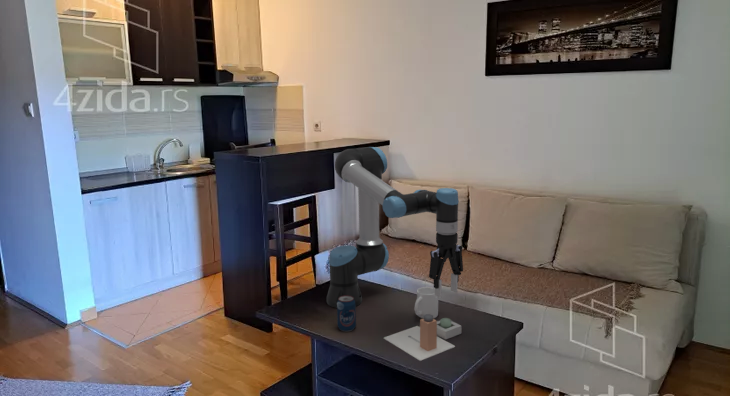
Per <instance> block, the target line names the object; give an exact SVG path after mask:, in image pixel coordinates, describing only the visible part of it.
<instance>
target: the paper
mask: <svg viewBox="0 0 730 396" xmlns="http://www.w3.org/2000/svg"><path fill="white" fill-rule="evenodd" d="M383 339H384V340H385V341H387V342H389V343H390V344H391V345H393V346H395V347H397V348H398V349H400V350H402V352H405V353H406V354H407V355H409V356H411V357H413V358H414V359H416V360H418V361H419V362H421V361H424V360H427V359H429V358H432V357H434V356H437V355H438V354H441V353H444V352H446V351H449V350H451V349H454V348H455V347H456V346H455V345H454V344H452V343H450V342H448V341H446V340H445V339H443V338H441V337H439V336H437V348H435V349H432V350H430V351H426V350H425V349H423V348H421V347H420V325H419V326H418V325H416V326H413V327H410V328H407V329H404V330H401V331H399V332H396V333H393V334H390V335H388V336H384V337H383Z"/></svg>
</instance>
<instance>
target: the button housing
mask: <svg viewBox="0 0 730 396" xmlns="http://www.w3.org/2000/svg"><path fill="white" fill-rule="evenodd" d="M436 321H437V337H439V338H441V339H443V340H445V341H446V340H448V339H451V338H453V337H457V336H458V335H461V334H462V325H460V324H459V323H457V322H455V321H453V320H451V327H450V328H447V329H445V328H443V327H441V326H440V320H436Z"/></svg>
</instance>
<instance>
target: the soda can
mask: <svg viewBox="0 0 730 396" xmlns="http://www.w3.org/2000/svg"><path fill="white" fill-rule="evenodd" d="M356 307H357V306H355V300H354V297H352V296H349V295H344V296H340V297H339V298H338V301H337V308H336V316H337V327H338V329H339V330H340V331H342V332H351V331H353V330H354V329H355V327H356V326H357V319H356V318H357V315H356V314H357V313H356Z"/></svg>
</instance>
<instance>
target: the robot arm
mask: <svg viewBox="0 0 730 396" xmlns="http://www.w3.org/2000/svg"><path fill="white" fill-rule="evenodd" d="M387 169H388V158H387V157H386V154H385V153H384V152H383V150H382V149H381V148H379V147H377V146H375V147H374V146H367V147H358V148H347V149H345V150H343V151H340V153H338V154H337V156H336V158H335V161H334V170H335V173H336V174H337V176H338V177H339V178H340V179H341V180H343V181H344V182H346V183H348V184H349V183H351V184H352V185H354V186H355V187H356V188H357V190H358V191H357V193H358V195H357V196H358V220H359V221H358V222H359V223H358V229H359V230H358V231H359V235H358V236H359V238H358V239H357V240H356V241H355V246H354V245H350V244H347V245H341V246H337V247H335V248H333V249H331V251H330V252H329V260H328V264H329V288H328V291H327V295H326V303H327V305H328V306H330V307H332V308H336V309H337V301H338V298H339V297H340V296H344V295H349V296H352V297H354V300H355V306H356V307H358V306H360V305H361V304H362V303H363V294H362V292H361V289H360V286H359V283H358V282H359V280H358V277H359V276H362V275H365V274H368V273H369V274H370V273H373V272H378V271H380V270H382V269H384V268H385V267H386V266H387V265H388V262H389V259H390V257H389V256H390V253H389V250H388V246H387V245H386V244H385V243H384V240H383V239H382V238H381V237H380V210H379V209H380V206H379V204H380V205H381V206H382V210H383V211H382V212H384V214H385V216H386V217H387V218H389V219H395V218H396V219H398V218H399V219H400V218H402V217H407V216H411V215H417V214H422V213H423V214H424V213H431V214H435V215H436V217H435V218H436V223H435V224H436V225H435V231H436V234H435V242H436V245H437V246H436V250H431V251H430V252H429V254H430V262H429V263H430V264H429V272H428V278H429V279H432V280H433V288H435V296H437V297H438V299H439V298H440V299H441V298H442V290H443V289H442V281H443V280H442V279H441V276H442V273H443V270H444V266H445V263H446V261H447V259H448V260H449V261H448V263H449V266H450V267H451V270H452V273H450V292H453V293H458V285H459V278H460V277H459V276H461V275H462V272H464V264H463V263H464V262H463V247H464V246H463V245H460V244H458V231H459V229H458V227H459V225H458V223H459V203H460V201H459V192H458V190H457V189H455V188H452V187H442V188H438V189H437V190H436V192H435V191H432V190H431V191H430V190H427V189H416V190H415V191H414V192H413V193H406V194H404V193H402V192H401V191H398V190H397V189H395V188H394V187H393V186H391V185H389V184H388V183H386V182H385V181H384V180H382V179H383V178H382V176H383V174H384V173H385V172H387V171H386V170H387Z"/></svg>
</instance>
